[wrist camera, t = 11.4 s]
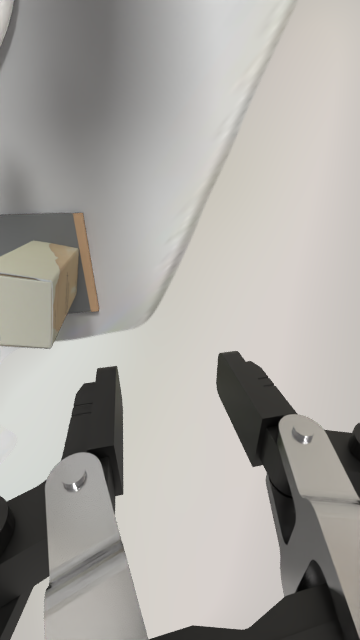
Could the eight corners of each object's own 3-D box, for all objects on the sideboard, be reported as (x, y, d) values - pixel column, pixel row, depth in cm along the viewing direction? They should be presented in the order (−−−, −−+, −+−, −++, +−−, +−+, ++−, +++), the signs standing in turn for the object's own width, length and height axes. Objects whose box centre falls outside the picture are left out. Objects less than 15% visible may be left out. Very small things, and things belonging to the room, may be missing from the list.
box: (76, 295, 27) (52, 354, 17) (31, 289, 26) (-23, 349, 16) (79, 245, 25) (53, 280, 15) (30, 236, 24) (-33, 269, 14)
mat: (-117, 217, 21) (-124, 218, 21) (82, 212, 24) (81, 213, 24) (-64, 322, 26) (-68, 326, 25) (99, 308, 29) (98, 311, 28)
